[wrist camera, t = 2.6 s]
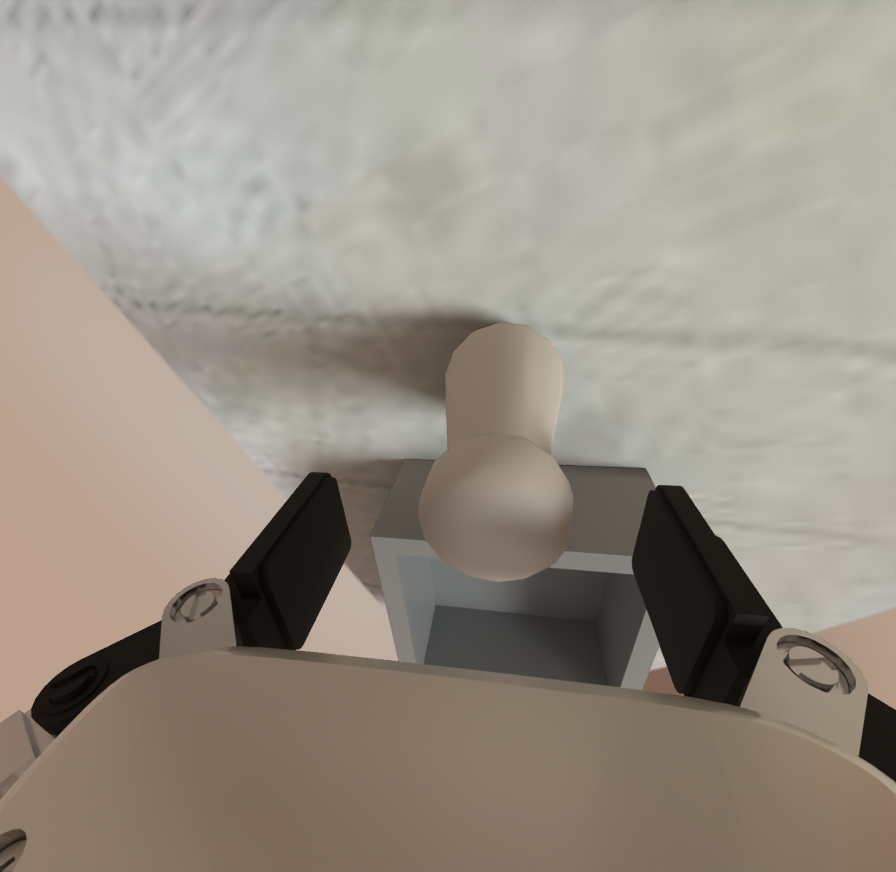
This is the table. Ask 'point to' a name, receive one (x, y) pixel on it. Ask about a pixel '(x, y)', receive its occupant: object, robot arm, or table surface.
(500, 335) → the salt shaker
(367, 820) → the robot arm
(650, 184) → the table surface
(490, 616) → the bin
